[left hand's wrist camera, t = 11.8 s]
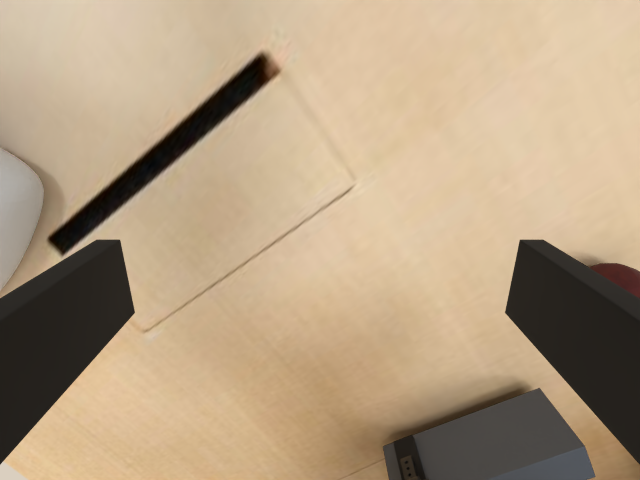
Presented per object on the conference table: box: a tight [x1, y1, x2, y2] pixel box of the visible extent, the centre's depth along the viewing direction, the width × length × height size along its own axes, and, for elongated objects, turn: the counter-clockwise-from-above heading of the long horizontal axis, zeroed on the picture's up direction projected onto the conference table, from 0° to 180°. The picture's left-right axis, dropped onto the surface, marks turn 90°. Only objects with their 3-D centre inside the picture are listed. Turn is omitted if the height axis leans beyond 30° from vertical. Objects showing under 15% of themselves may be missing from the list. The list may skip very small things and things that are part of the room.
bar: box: [383, 388, 595, 480], centre depth 44 cm, size 22×5×8 cm, turn 117°
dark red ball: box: [590, 263, 640, 298], centre depth 40 cm, size 7×8×7 cm
